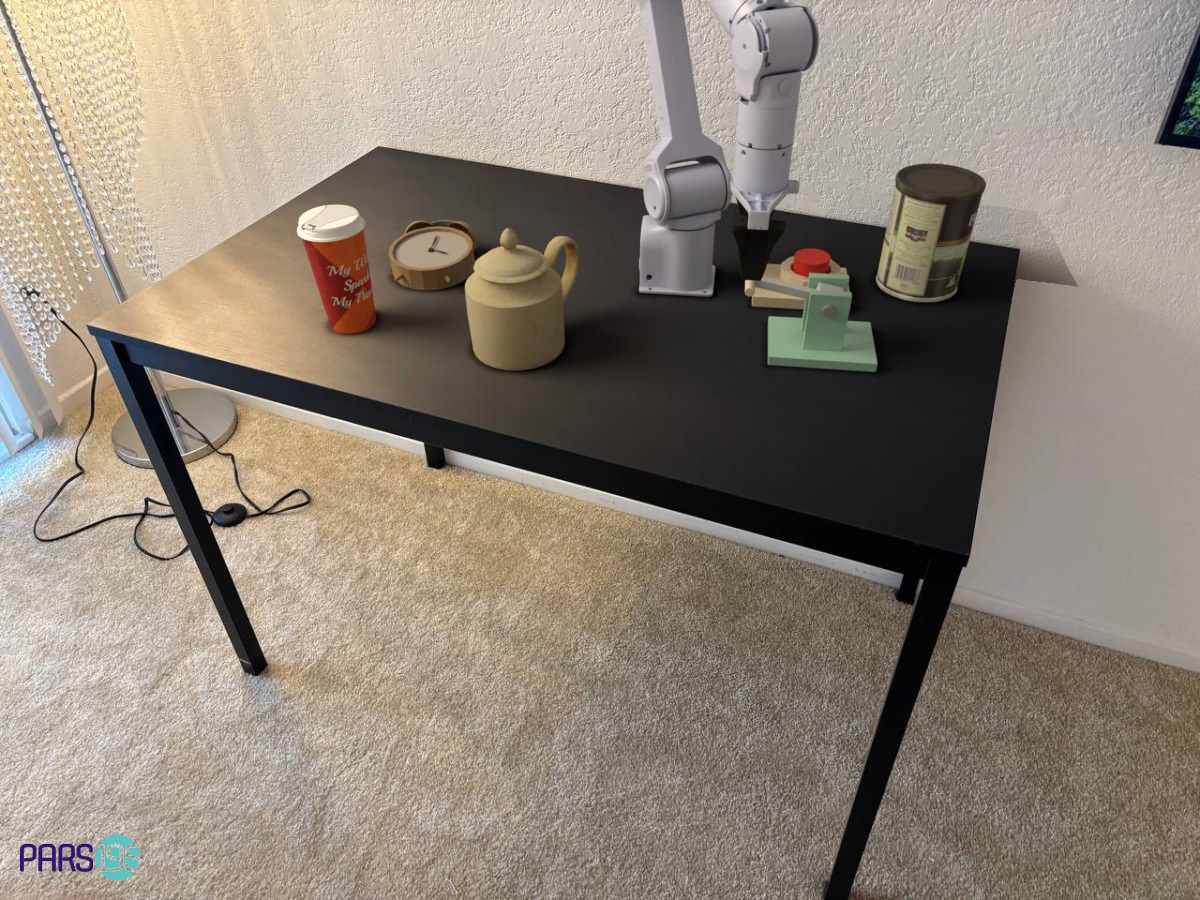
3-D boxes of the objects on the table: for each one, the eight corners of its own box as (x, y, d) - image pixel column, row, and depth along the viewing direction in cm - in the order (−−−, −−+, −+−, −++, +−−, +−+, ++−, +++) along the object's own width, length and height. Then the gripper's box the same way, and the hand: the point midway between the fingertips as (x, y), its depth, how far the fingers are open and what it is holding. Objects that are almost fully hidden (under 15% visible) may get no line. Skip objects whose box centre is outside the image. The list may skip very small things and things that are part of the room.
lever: (741, 300, 95) (748, 281, 94) (743, 274, 100) (749, 256, 98) (837, 324, 95) (845, 306, 94) (834, 297, 100) (842, 279, 98)
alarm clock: (377, 270, 111) (405, 203, 121) (386, 300, 115) (412, 233, 125) (462, 273, 110) (483, 205, 120) (468, 303, 114) (488, 235, 124)
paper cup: (353, 344, 103) (328, 236, 94) (308, 328, 106) (279, 221, 98) (398, 315, 108) (377, 210, 99) (353, 300, 112) (330, 197, 103)
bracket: (767, 365, 98) (775, 301, 93) (767, 324, 105) (775, 262, 100) (875, 372, 97) (890, 307, 91) (868, 330, 104) (881, 268, 98)
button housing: (751, 306, 108) (754, 282, 106) (752, 272, 115) (755, 248, 113) (849, 312, 107) (854, 287, 105) (844, 277, 114) (848, 253, 111)
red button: (793, 278, 108) (795, 263, 106) (792, 261, 111) (794, 247, 110) (829, 280, 107) (831, 265, 106) (827, 263, 110) (829, 249, 109)
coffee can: (952, 268, 115) (980, 164, 106) (961, 306, 107) (992, 198, 98) (872, 262, 117) (893, 160, 108) (876, 299, 109) (899, 193, 100)
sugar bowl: (502, 302, 111) (490, 189, 101) (584, 311, 108) (581, 197, 99) (458, 365, 99) (440, 245, 90) (549, 377, 97) (541, 255, 88)
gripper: (807, 169, 81) (789, 297, 89) (802, 117, 92) (787, 235, 100) (731, 166, 82) (721, 293, 90) (736, 115, 93) (726, 232, 101)
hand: (752, 262), depth 95 cm, fingers open, 7 cm apart
